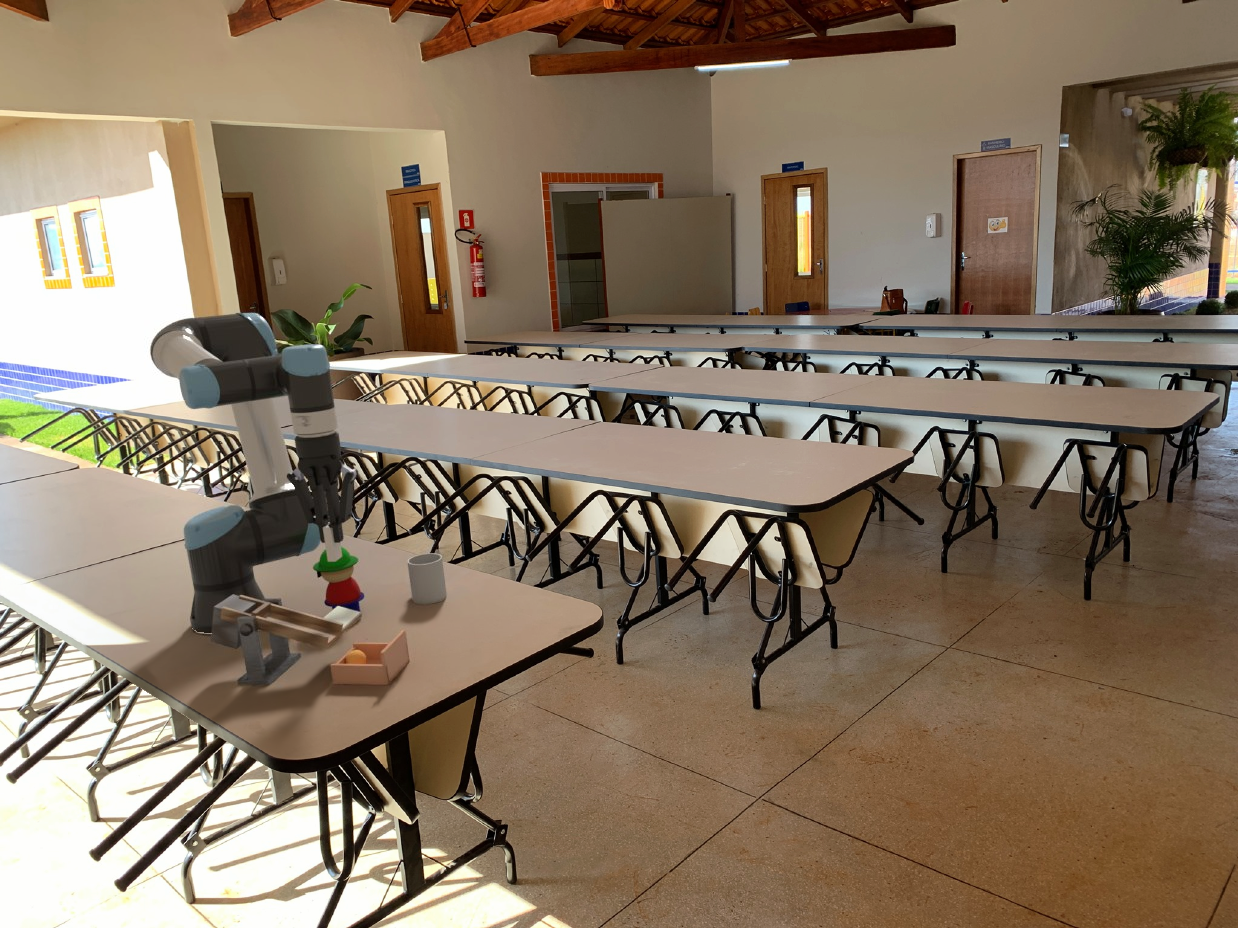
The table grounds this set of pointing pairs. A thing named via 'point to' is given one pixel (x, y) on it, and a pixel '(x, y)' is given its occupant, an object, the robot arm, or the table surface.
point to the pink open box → (373, 663)
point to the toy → (340, 581)
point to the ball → (356, 657)
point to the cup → (427, 578)
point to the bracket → (255, 665)
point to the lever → (278, 622)
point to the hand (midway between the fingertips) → (335, 558)
